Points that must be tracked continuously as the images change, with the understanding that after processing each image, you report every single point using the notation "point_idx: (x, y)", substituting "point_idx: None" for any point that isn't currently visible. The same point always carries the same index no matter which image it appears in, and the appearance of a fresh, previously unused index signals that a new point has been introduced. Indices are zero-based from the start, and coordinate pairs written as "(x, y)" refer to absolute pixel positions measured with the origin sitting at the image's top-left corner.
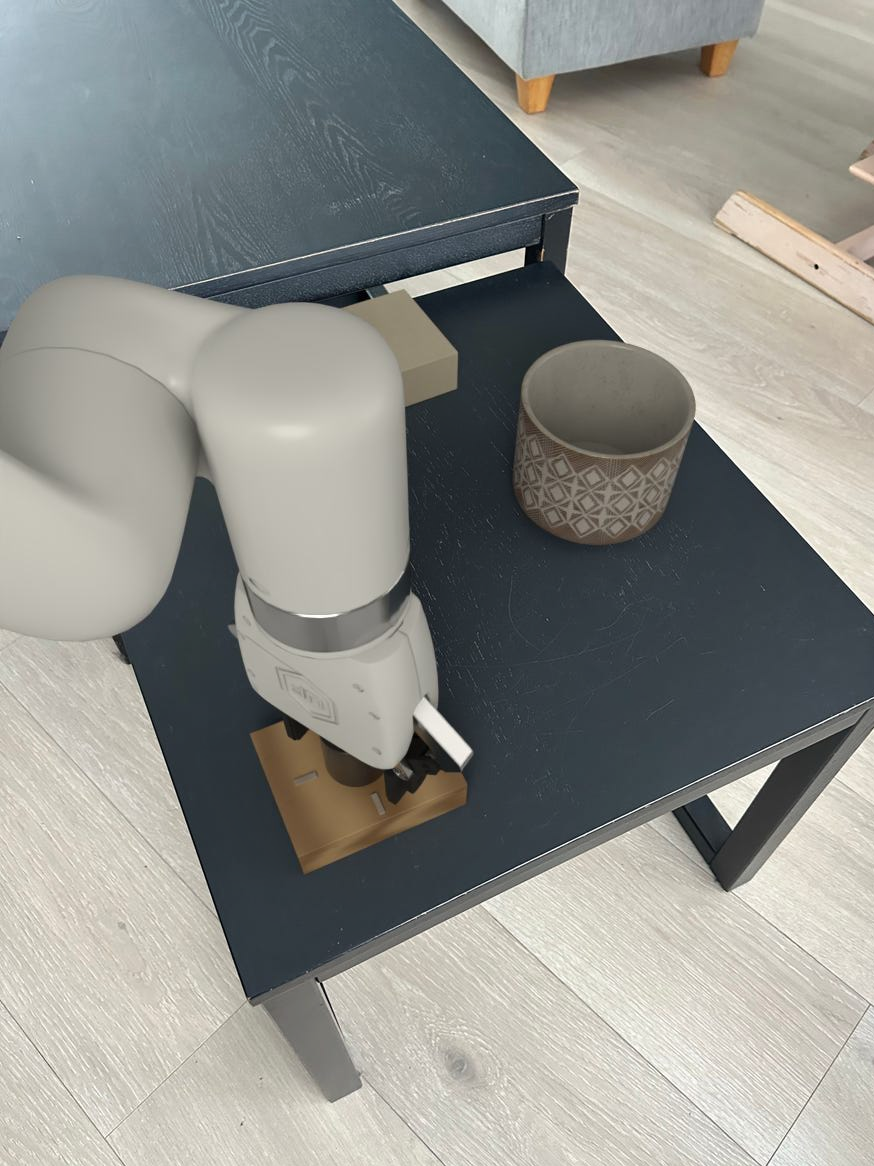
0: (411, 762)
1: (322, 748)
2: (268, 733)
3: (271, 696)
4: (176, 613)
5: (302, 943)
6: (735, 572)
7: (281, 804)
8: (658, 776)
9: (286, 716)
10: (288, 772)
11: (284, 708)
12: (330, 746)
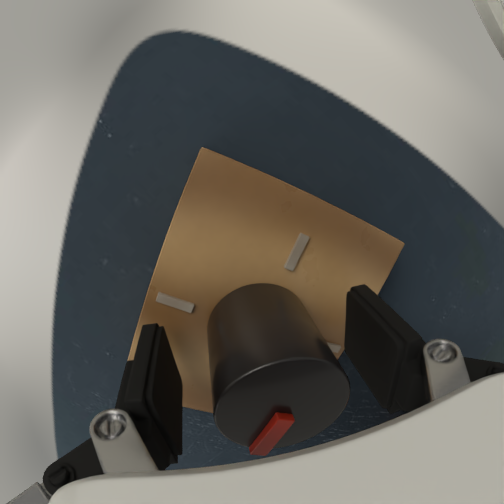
0: (99, 464)
1: (302, 329)
2: (386, 262)
3: (498, 423)
4: (494, 273)
5: (134, 86)
6: None
7: (295, 194)
8: (65, 441)
9: (397, 329)
10: (325, 240)
11: (451, 426)
12: (284, 364)
